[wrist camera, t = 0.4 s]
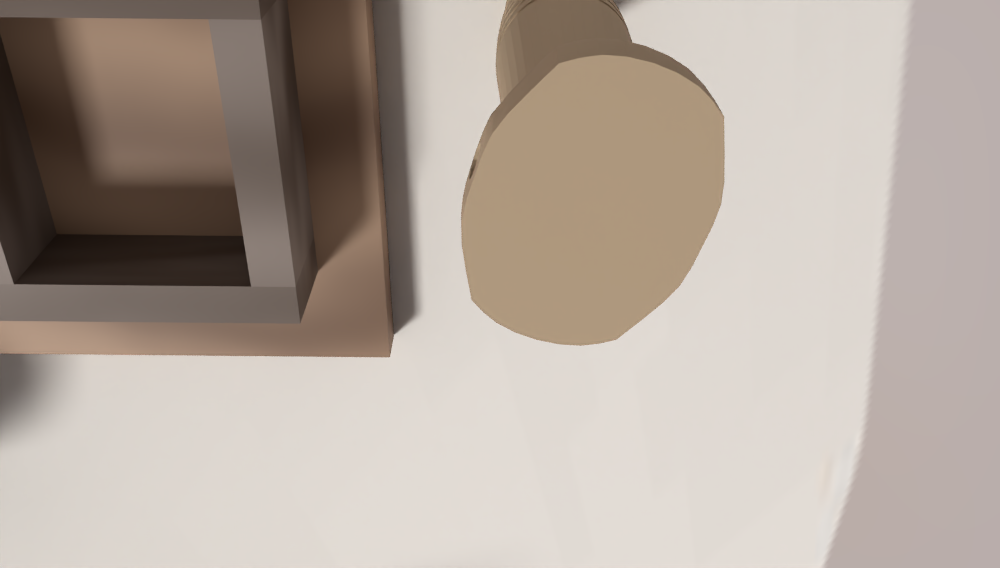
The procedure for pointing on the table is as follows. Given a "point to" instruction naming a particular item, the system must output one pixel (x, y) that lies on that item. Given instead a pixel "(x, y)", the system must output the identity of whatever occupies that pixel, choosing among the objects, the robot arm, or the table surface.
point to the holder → (192, 179)
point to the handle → (587, 176)
